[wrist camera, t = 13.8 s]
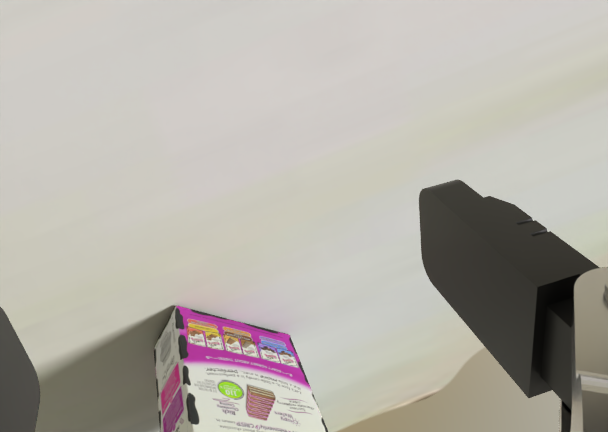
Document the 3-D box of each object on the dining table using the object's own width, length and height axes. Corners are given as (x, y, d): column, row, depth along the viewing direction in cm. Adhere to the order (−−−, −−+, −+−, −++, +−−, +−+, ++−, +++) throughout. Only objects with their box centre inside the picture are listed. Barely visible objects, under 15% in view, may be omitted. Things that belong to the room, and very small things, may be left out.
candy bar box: (150, 350, 47) (161, 530, 33) (174, 302, 46) (196, 469, 32) (267, 376, 52) (320, 542, 38) (292, 333, 50) (356, 490, 36)
